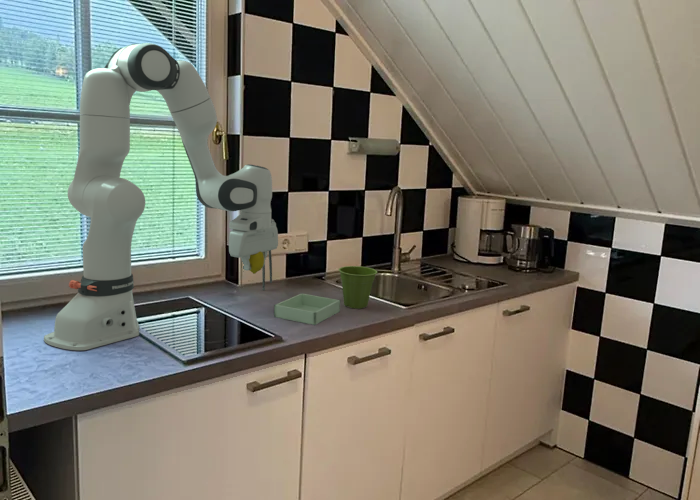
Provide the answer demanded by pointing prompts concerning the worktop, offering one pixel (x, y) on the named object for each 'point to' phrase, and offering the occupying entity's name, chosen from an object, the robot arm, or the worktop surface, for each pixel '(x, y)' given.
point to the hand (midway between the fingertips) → (254, 268)
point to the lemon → (256, 262)
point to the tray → (307, 308)
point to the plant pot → (357, 285)
